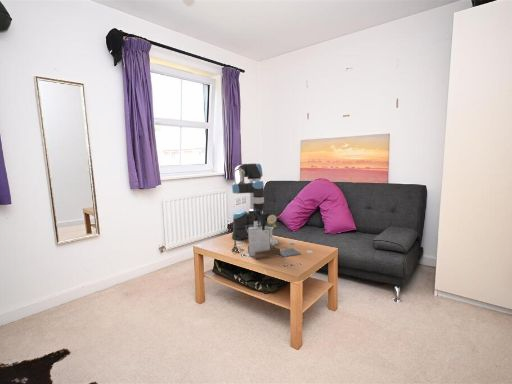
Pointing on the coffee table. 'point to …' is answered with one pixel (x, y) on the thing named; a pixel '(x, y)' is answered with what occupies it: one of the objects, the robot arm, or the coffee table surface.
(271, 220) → the flower in vase
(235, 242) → the eiffel tower figurine
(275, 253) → the walnut shelf bay
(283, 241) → the coffee table surface
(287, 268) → the coffee table surface
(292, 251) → the felt pad
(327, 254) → the coffee table surface
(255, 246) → the hard drive box
